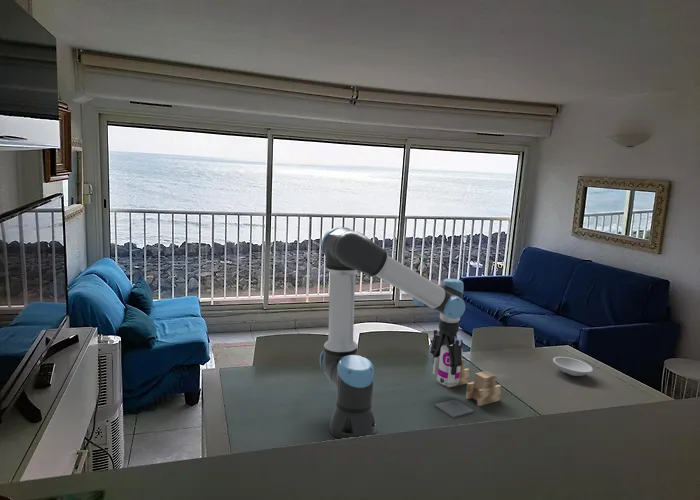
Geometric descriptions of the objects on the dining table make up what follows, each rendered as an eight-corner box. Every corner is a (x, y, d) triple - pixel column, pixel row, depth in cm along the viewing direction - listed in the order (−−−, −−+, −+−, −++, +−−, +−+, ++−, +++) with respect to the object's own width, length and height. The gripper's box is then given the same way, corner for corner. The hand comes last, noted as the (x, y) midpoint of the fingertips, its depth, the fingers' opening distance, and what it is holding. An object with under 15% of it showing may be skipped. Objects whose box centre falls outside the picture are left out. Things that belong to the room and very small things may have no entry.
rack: (478, 405, 181) (481, 380, 180) (436, 380, 202) (438, 357, 200) (500, 400, 187) (502, 375, 185) (457, 376, 207) (459, 354, 206)
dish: (599, 381, 210) (601, 370, 209) (573, 384, 205) (575, 373, 204) (568, 365, 226) (570, 355, 226) (543, 368, 221) (545, 358, 221)
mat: (452, 418, 171) (452, 416, 171) (434, 405, 180) (434, 404, 179) (473, 412, 176) (473, 410, 176) (454, 400, 185) (455, 399, 184)
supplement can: (457, 388, 183) (461, 350, 181) (435, 384, 186) (439, 346, 184) (459, 381, 191) (464, 344, 189) (438, 376, 193) (443, 340, 191)
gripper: (476, 327, 176) (469, 387, 180) (439, 311, 194) (433, 366, 197) (461, 329, 173) (454, 390, 176) (424, 313, 190) (418, 368, 194)
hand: (443, 377), depth 187 cm, fingers closed on supplement can, 8 cm apart
